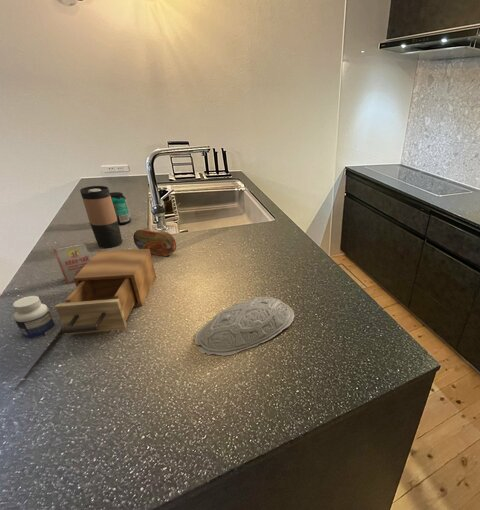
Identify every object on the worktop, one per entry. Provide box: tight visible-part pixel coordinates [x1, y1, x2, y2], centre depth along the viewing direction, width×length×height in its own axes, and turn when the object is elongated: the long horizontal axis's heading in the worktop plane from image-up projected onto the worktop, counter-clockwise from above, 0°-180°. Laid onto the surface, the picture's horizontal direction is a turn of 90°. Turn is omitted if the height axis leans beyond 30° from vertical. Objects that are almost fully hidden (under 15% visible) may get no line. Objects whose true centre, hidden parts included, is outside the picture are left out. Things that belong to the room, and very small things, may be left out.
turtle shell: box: [194, 296, 295, 357], centre depth 75 cm, size 16×25×7 cm, turn 131°
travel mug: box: [79, 185, 123, 249], centre depth 104 cm, size 8×8×20 cm
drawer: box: [55, 277, 137, 336], centre depth 71 cm, size 19×11×8 cm, turn 15°
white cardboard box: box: [53, 243, 92, 285], centre depth 87 cm, size 4×7×10 cm, turn 134°
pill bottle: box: [12, 295, 57, 340], centre depth 66 cm, size 5×5×10 cm
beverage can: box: [110, 191, 132, 226], centre depth 123 cm, size 7×7×12 cm
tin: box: [132, 227, 177, 257], centre depth 104 cm, size 15×3×8 cm, turn 76°
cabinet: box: [73, 248, 157, 308], centre depth 82 cm, size 15×13×10 cm
